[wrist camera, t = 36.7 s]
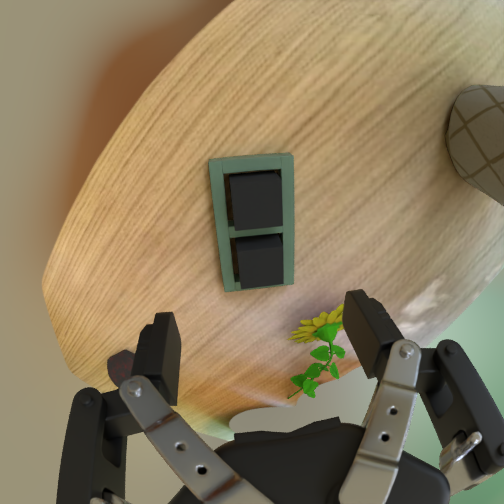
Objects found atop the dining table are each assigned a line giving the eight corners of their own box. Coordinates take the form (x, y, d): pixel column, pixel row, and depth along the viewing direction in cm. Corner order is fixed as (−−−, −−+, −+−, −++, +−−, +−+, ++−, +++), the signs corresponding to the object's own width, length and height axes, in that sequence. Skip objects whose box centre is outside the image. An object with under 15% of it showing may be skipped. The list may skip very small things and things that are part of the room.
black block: (233, 216, 36) (234, 231, 32) (228, 174, 34) (230, 184, 30) (276, 211, 37) (283, 226, 33) (274, 170, 34) (281, 179, 30)
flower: (305, 370, 63) (372, 295, 42) (317, 403, 57) (397, 343, 36) (256, 380, 59) (305, 306, 38) (266, 416, 53) (329, 364, 32)
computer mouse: (130, 346, 45) (126, 363, 42) (181, 385, 52) (180, 402, 48) (103, 359, 47) (98, 376, 43) (152, 396, 53) (150, 411, 50)
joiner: (224, 284, 41) (224, 292, 39) (208, 158, 32) (208, 162, 31) (290, 276, 42) (294, 284, 40) (289, 152, 33) (293, 155, 31)
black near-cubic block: (238, 270, 40) (241, 289, 36) (234, 234, 37) (236, 251, 34) (277, 265, 40) (283, 284, 37) (276, 230, 38) (283, 246, 34)
